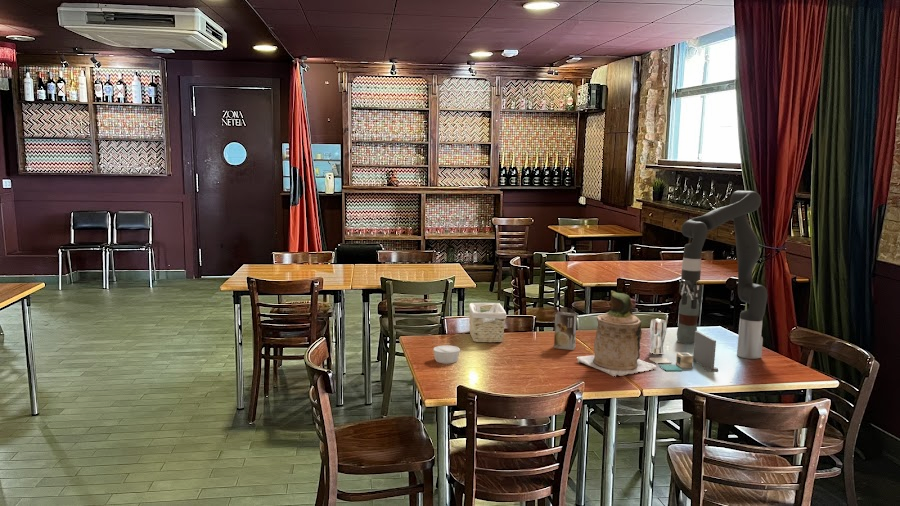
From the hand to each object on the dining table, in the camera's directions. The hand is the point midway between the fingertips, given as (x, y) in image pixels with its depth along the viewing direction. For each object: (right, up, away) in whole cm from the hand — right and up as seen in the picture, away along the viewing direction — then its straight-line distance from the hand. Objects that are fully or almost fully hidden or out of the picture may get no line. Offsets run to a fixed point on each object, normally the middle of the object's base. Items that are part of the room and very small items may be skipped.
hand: (688, 306), depth 283 cm
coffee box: (-48, -21, +27) cm, 59 cm away
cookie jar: (-30, -25, +1) cm, 40 cm away
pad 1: (-9, -25, +8) cm, 28 cm away
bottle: (+14, -21, +42) cm, 49 cm away
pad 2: (-8, -26, -1) cm, 27 cm away
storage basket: (-83, -18, +43) cm, 95 cm away
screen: (+8, -26, +5) cm, 27 cm away
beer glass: (-7, -23, +22) cm, 32 cm away
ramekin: (-102, -23, +2) cm, 105 cm away
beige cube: (-1, -26, +4) cm, 26 cm away
